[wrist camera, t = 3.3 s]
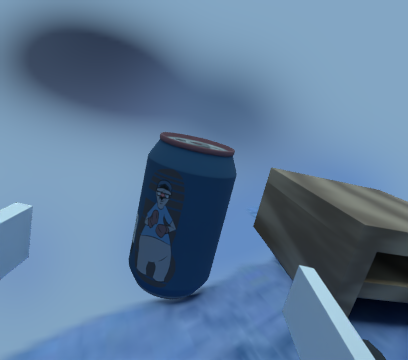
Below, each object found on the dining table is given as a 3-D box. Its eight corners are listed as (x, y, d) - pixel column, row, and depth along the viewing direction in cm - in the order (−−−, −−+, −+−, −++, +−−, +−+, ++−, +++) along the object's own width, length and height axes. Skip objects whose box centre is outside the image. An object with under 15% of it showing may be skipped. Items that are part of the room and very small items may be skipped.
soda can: (201, 259, 27) (231, 143, 24) (211, 309, 21) (255, 159, 18) (131, 249, 26) (154, 126, 23) (119, 300, 19) (149, 136, 16)
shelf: (357, 242, 43) (379, 190, 41) (486, 336, 26) (536, 254, 24) (253, 226, 39) (271, 167, 37) (324, 323, 22) (365, 224, 20)
